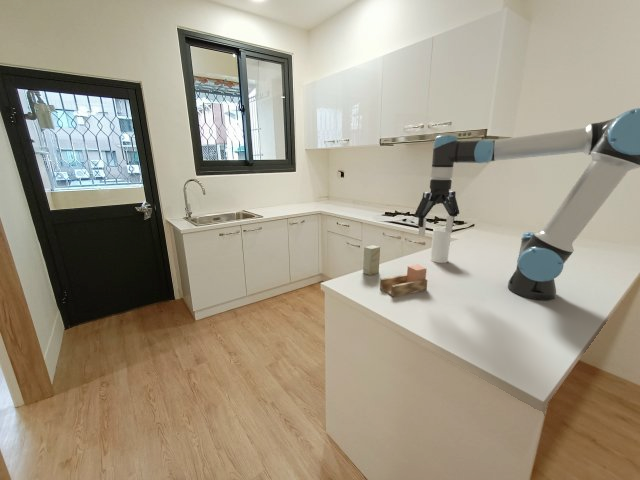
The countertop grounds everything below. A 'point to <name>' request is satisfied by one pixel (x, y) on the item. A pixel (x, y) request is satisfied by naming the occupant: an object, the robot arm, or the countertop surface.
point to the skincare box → (371, 259)
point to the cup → (440, 245)
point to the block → (416, 273)
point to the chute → (401, 285)
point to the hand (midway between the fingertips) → (435, 233)
